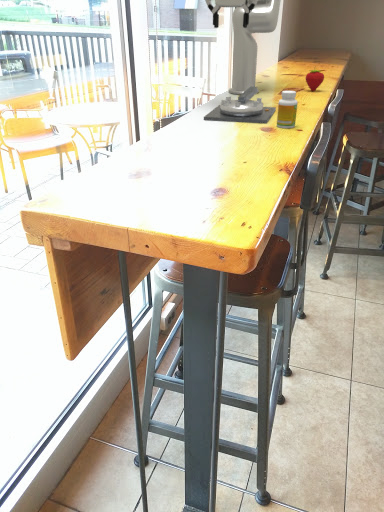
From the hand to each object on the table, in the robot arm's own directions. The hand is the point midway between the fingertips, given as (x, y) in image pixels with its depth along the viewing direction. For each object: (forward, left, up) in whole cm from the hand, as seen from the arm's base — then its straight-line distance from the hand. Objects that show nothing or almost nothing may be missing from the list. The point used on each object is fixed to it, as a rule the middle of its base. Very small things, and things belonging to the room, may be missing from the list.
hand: (230, 27), depth 135 cm
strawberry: (-40, +27, -25) cm, 55 cm away
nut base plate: (+12, +7, -25) cm, 29 cm away
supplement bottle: (+24, +23, -25) cm, 42 cm away
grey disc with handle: (+5, +7, -24) cm, 25 cm away
